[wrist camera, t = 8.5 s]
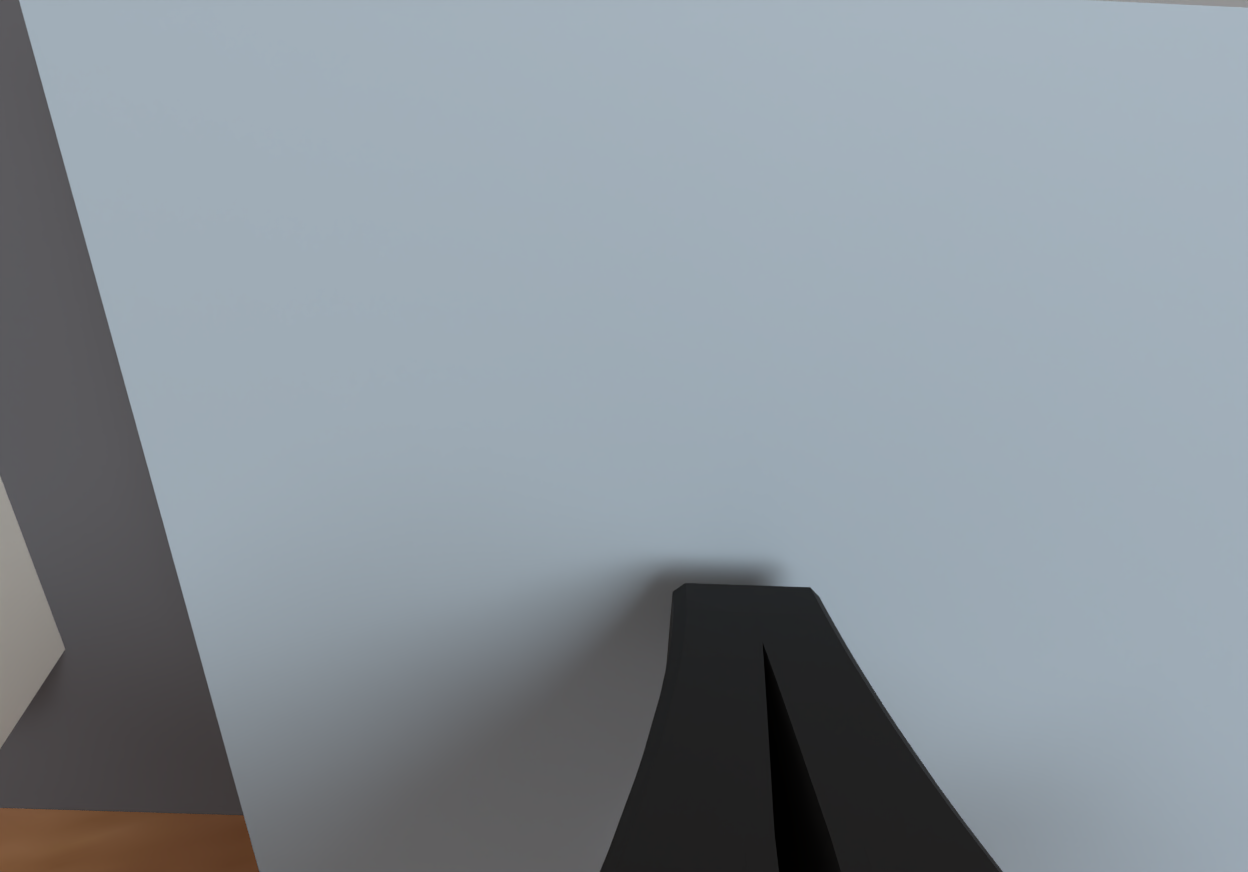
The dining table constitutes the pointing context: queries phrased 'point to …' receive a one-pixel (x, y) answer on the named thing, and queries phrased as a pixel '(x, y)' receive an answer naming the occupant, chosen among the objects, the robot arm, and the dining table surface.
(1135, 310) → the deck
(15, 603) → the cream tapered slab
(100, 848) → the dining table surface
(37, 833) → the dining table surface
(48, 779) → the mat
